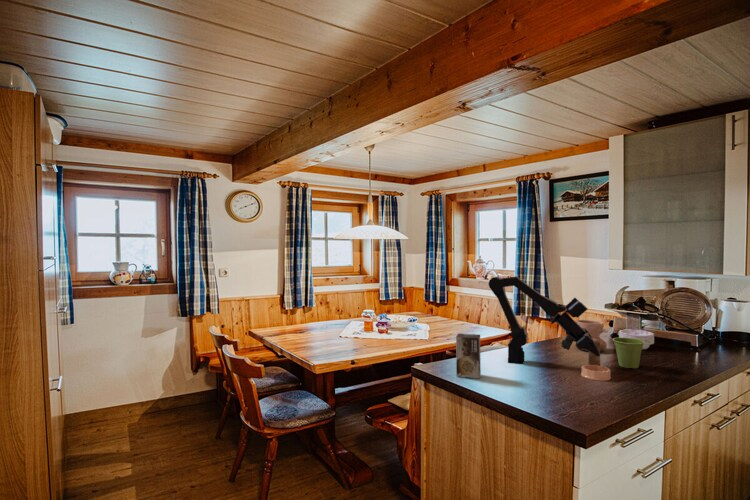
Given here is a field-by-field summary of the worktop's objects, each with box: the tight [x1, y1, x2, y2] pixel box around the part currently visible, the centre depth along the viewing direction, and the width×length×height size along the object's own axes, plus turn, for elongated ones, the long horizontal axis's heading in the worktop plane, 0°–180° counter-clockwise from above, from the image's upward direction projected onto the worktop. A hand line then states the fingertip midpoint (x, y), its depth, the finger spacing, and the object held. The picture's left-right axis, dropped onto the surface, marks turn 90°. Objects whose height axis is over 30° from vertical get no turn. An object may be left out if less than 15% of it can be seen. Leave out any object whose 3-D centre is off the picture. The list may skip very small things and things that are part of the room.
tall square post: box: [587, 341, 601, 366], centre depth 172 cm, size 4×4×12 cm
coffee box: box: [455, 333, 482, 379], centre depth 165 cm, size 9×6×16 cm
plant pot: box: [612, 337, 645, 369], centre depth 178 cm, size 12×12×11 cm
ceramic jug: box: [573, 319, 609, 352], centre depth 207 cm, size 18×14×14 cm
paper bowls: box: [618, 328, 655, 350], centre depth 212 cm, size 15×15×8 cm
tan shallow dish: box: [580, 364, 612, 382], centre depth 164 cm, size 10×10×3 cm
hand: (598, 353), depth 172 cm, fingers open, 7 cm apart
